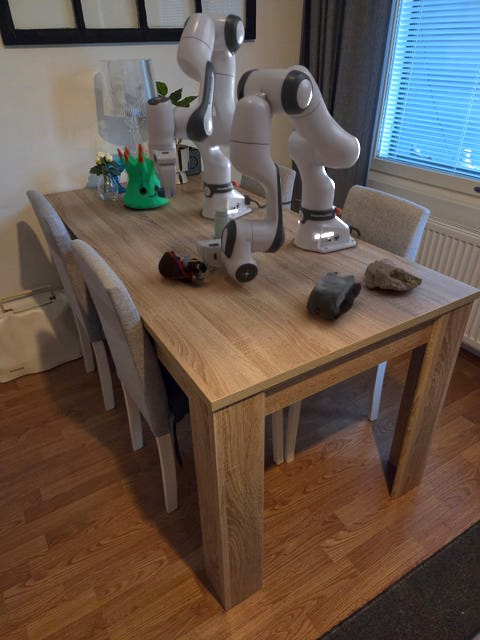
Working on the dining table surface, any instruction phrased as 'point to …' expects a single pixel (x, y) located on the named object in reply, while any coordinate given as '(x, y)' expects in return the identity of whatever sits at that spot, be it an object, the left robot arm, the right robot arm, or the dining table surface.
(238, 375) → the dining table surface
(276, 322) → the dining table surface
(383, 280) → the artifact
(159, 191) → the lid
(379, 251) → the dining table surface
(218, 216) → the pale green cylinder
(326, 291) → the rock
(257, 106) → the right robot arm
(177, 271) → the toy
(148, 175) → the toy
